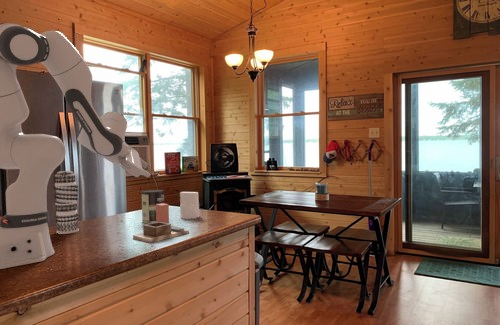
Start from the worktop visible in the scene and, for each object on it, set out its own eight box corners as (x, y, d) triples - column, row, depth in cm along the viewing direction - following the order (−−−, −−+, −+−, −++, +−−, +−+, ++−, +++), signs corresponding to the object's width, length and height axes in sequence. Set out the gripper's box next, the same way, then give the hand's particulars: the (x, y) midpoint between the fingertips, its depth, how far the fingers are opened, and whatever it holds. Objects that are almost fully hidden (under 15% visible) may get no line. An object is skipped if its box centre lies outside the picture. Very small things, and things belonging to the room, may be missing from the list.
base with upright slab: (176, 218, 178) (176, 193, 178) (187, 214, 187) (186, 191, 186) (193, 219, 175) (192, 193, 174) (202, 215, 183) (201, 191, 183)
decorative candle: (63, 235, 148) (60, 172, 147) (50, 232, 153) (47, 171, 152) (84, 230, 156) (82, 170, 155) (71, 228, 161) (69, 170, 160)
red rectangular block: (162, 229, 155) (161, 205, 154) (156, 228, 157) (155, 204, 157) (169, 227, 157) (168, 204, 157) (163, 226, 160) (162, 203, 160)
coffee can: (168, 218, 177) (167, 189, 176) (159, 223, 167) (158, 192, 166) (148, 218, 179) (147, 189, 178) (138, 222, 169) (136, 192, 168)
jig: (150, 242, 133) (150, 229, 133) (133, 238, 140) (132, 226, 140) (189, 233, 147) (188, 221, 147) (171, 229, 154) (170, 218, 154)
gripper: (124, 156, 134) (156, 175, 141) (121, 137, 151) (149, 155, 158) (114, 169, 134) (146, 187, 141) (112, 149, 152) (140, 167, 159)
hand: (148, 170), depth 150 cm, fingers open, 8 cm apart
